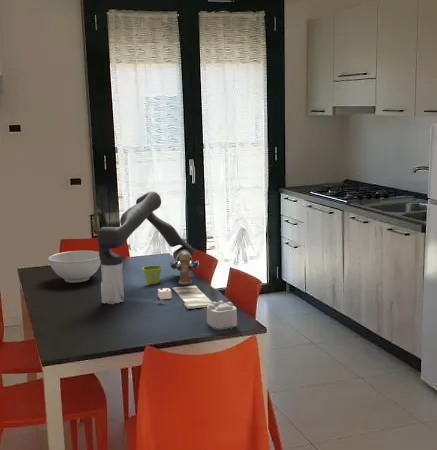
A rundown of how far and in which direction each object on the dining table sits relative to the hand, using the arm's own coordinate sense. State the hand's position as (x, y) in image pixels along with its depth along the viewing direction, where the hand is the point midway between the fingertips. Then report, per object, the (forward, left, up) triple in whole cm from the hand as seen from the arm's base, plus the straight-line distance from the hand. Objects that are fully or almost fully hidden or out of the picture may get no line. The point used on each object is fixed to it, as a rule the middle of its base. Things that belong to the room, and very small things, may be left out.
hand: (185, 268), depth 294 cm
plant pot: (+8, +22, -12) cm, 27 cm away
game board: (-6, -7, -12) cm, 15 cm away
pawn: (+2, +1, -8) cm, 8 cm away
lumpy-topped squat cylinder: (-34, -34, -12) cm, 49 cm away
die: (-13, +3, -12) cm, 18 cm away
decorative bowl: (+4, +64, -12) cm, 66 cm away
